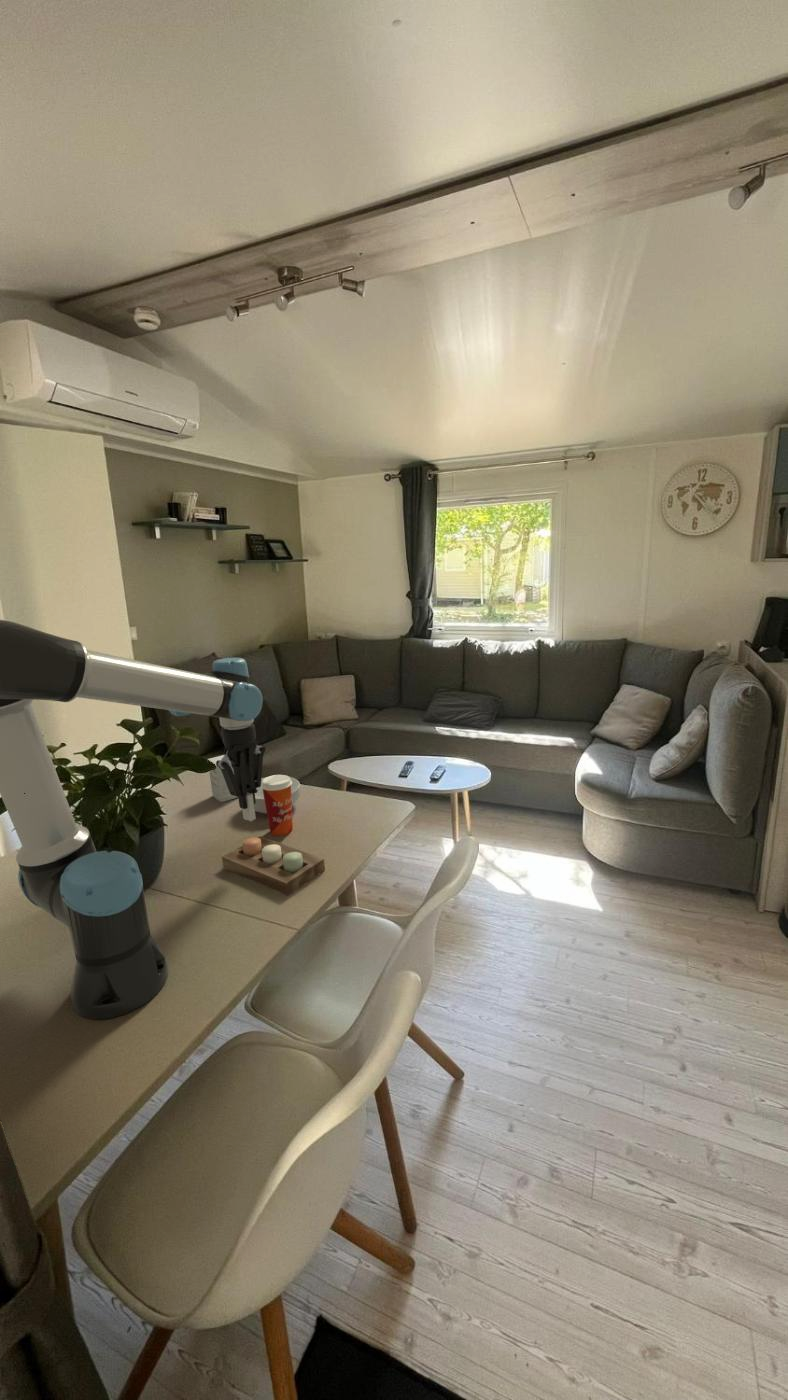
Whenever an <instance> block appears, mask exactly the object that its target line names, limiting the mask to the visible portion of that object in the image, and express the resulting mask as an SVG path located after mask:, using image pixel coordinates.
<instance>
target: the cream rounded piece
mask: <svg viewBox="0 0 788 1400" xmlns="http://www.w3.org/2000/svg"><path fill="white" fill-rule="evenodd" d="M262 856H263V862H264V863H267V864H269V865H273V864H275V863H277V862H278V861H280V860H282V854H281V847H280V846H279V845H275V844H273V845H268V846H265V847H264V848H263V849H262Z"/></svg>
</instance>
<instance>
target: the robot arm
mask: <svg viewBox="0 0 788 1400" xmlns="http://www.w3.org/2000/svg"><path fill="white" fill-rule="evenodd" d="M211 670H212V671H209V672H206V673H197V672H193V671H189V670H188V671H187V670H183V669H179V668H178V669H177V668H174V667H169V666H164V665H159V664H156V663H155V664H154V663H150V662H147V661H146V662H144V661H141V660H136V659H131V658H126V657H123V656H118V655H112V654H107V653H102V652H98V651H93V650H88V649H87V648H86V647H85V646H84V644H83V643H82V642H80V641H78V640H73V639H69V638H66V637H61V636H57V635H54V634H50V633H49V632H48V633H47V632H44V631H42V630H38V629H36V628H32V627H30V626H27V625H24V624H20V623H17V622H13V621H10V620H4V619H0V797H1V799H2V802H3V803H4V807H5V809H6V811H7V813H8V816H9V819H10V820H11V823H12V826H13V827H14V830H15V832H16V835H17V837H18V839H19V842H20V844H21V847H20V848H19V850H18V851H17V854H16V856H15V860H16V862H17V865H18V867H19V869H18V874H17V877H18V885H19V887H20V890H21V891H22V894H23V895H24V896H25V897H26V899H27V900H28V901H29V902H30V903H31V904H33V905H34V906H37V907H38V908H40V909H42V910H43V911H45V912H46V913H47V914H49V915H51V916H52V917H53V918H55V919H56V920H57V921H59V922H60V923H62V925H64V926H66V927H67V928H68V931H69V933H70V937H71V943H72V946H73V951H74V957H75V966H74V970H73V975H72V977H73V978H72V984H71V987H70V988H71V989H70V998H71V1002H72V1007H73V1009H74V1011H75V1013H77V1014H78V1015H79V1016H80V1017H82V1018H86V1019H91V1020H106V1019H113V1018H116V1017H117V1018H118V1017H120V1016H123V1015H126V1014H129V1013H130V1012H131V1013H132V1012H133V1011H135V1010H137V1009H138V1008H140V1007H142V1006H143V1005H145V1004H146V1003H149V1002H150V1000H152V999H153V998H154V997H156V995H157V994H158V993H159V992H160V991H161V990H162V989H163V987H164V985H165V984H166V982H167V980H168V976H169V969H168V964H167V959H166V956H165V954H164V953H163V951H162V949H161V948H160V947H159V945H158V944H157V942H156V941H155V939H154V937H153V936H152V934H151V929H150V923H149V916H148V909H147V905H146V904H147V903H146V899H145V891H144V885H143V876H142V873H141V872H140V868H139V866H138V863H137V861H136V860H135V858H133V856H131V855H129V854H128V853H125V852H123V851H120V850H118V851H117V850H112V851H109V852H108V850H100V851H97V850H96V846H95V844H94V841H93V839H92V836H91V833H90V831H89V829H88V828H87V827H85V826H82V825H78V824H77V823H76V821H75V818H74V815H73V812H72V810H71V807H70V805H69V801H68V800H67V797H66V794H65V792H64V791H65V790H64V788H63V786H62V784H61V781H60V778H59V776H58V772H57V770H56V767H55V765H54V762H53V759H52V756H51V755H50V751H49V749H48V745H47V744H46V741H45V738H44V735H43V733H42V730H41V728H40V724H39V722H38V720H37V717H36V713H35V711H34V709H33V706H32V703H33V701H34V700H37V701H38V700H39V701H51V702H53V701H54V702H61V703H70V702H72V701H73V700H75V699H76V698H80V699H81V698H82V699H86V700H96V701H102V702H107V703H108V702H109V703H116V704H124V705H129V706H130V705H131V706H137V707H146V708H151V709H152V708H153V709H160V710H167V711H168V712H169V713H171V715H173V716H175V717H183V716H189V715H191V714H196V715H203V716H208V717H213V718H214V717H216V718H219V725H220V726H221V729H220V730H221V731H220V732H221V739H222V743H223V745H224V751H223V755H224V757H223V758H222V759H221V761H220V760H218V761H217V762H216V765H217V766H218V767H219V768H220V769H221V771H222V774H223V776H224V779H225V782H226V784H227V787H228V790H229V792H230V794H231V795H233V796H237V799H238V806H239V807H240V809H242V810H241V811H242V818H243V819H244V820H245V821H248V822H253V821H254V820H256V819H257V818H256V811H255V809H254V804H255V803H256V800H255V793H257V791H258V790H256V788H258V787H260V786H261V778H262V776H263V775H262V774H263V773H262V772H263V762H264V761H263V760H264V755H265V752H266V747H265V746H261V745H258V744H257V741H256V738H257V733H256V726H255V724H254V721H255V720H254V719H256V718H257V717H258V715H259V714H260V713H261V711H262V707H263V702H264V700H263V694H262V692H261V690H260V689H259V688H258V687H257V686H256V685H255V684H252V683H251V682H250V681H251V680H250V677H251V676H250V675H249V669H248V663H247V661H246V660H245V659H244V658H242V657H224V658H220V659H216V660H214V661H213V662H212V668H211ZM229 761H230V762H231V764H230V763H229ZM230 765H232V768H233V771H234V774H233V771H232V768H231V767H230ZM24 793H25V794H24Z"/></svg>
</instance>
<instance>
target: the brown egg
mask: <svg viewBox="0 0 788 1400" xmlns="http://www.w3.org/2000/svg"><path fill="white" fill-rule="evenodd" d="M241 843H242V845H241V846H243V854H244V855H246V856H249V857H253V856H255V855H257V854H258V853H260V852H262V847H261V839H260V838H258V837H256V836H255V837H253V836H252V837H248V838H246V839H244V840H243V841H241Z"/></svg>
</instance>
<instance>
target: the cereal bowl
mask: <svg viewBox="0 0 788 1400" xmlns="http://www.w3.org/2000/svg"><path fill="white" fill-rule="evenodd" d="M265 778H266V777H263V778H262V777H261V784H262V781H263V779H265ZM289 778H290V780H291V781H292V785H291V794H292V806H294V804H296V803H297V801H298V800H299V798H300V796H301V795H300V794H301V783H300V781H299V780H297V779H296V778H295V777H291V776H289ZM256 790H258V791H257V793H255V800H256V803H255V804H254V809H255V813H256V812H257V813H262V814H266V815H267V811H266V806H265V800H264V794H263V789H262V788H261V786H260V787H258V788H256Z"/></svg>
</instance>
